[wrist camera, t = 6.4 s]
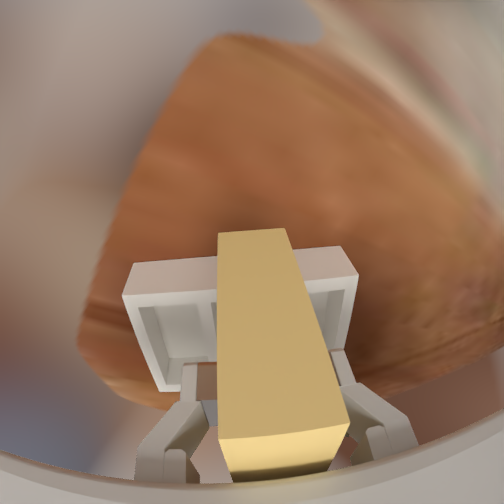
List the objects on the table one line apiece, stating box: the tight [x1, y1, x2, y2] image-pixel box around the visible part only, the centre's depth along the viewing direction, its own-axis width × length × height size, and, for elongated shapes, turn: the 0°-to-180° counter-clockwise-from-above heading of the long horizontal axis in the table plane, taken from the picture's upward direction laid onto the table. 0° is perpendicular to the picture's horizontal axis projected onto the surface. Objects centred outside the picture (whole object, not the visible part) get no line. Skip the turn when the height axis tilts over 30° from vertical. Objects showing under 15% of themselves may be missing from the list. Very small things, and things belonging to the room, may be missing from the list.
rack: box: [122, 246, 359, 392], centre depth 28 cm, size 18×13×4 cm
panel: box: [217, 228, 350, 483], centre depth 10 cm, size 2×7×8 cm, turn 3°
